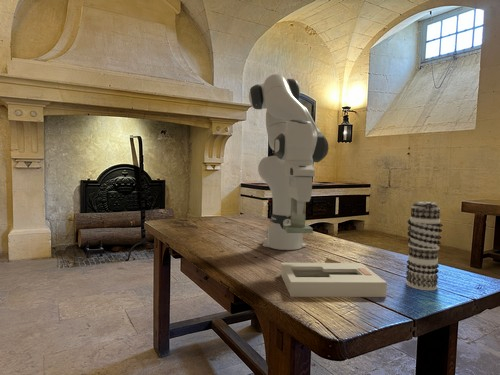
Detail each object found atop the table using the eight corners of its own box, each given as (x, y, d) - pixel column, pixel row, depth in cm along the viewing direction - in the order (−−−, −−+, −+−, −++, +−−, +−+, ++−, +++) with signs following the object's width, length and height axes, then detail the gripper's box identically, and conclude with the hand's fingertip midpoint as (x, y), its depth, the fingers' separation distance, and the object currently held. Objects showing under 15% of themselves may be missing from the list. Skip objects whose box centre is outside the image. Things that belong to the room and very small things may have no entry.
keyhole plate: (280, 274, 107) (281, 261, 107) (360, 275, 109) (361, 262, 108) (290, 296, 89) (291, 281, 89) (386, 296, 91) (386, 281, 91)
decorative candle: (424, 292, 94) (428, 204, 93) (397, 282, 103) (401, 201, 101) (446, 288, 98) (451, 203, 97) (418, 278, 107) (423, 200, 105)
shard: (326, 261, 125) (326, 256, 125) (347, 264, 123) (347, 259, 123) (323, 270, 115) (323, 264, 115) (346, 272, 113) (346, 267, 113)
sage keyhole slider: (283, 228, 112) (284, 197, 112) (307, 228, 113) (307, 197, 112) (287, 233, 104) (287, 199, 104) (312, 233, 105) (313, 199, 104)
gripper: (284, 170, 118) (283, 209, 118) (294, 170, 97) (293, 217, 98) (302, 170, 118) (301, 209, 119) (316, 170, 97) (314, 217, 98)
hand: (297, 213), depth 108 cm, fingers closed on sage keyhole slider, 4 cm apart
